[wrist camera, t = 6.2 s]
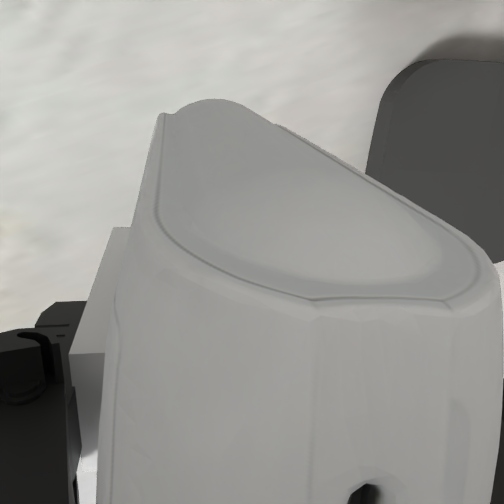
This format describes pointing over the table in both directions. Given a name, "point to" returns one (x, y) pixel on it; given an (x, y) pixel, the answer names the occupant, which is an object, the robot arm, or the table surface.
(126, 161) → the table surface
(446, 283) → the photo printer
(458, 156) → the media streaming box
